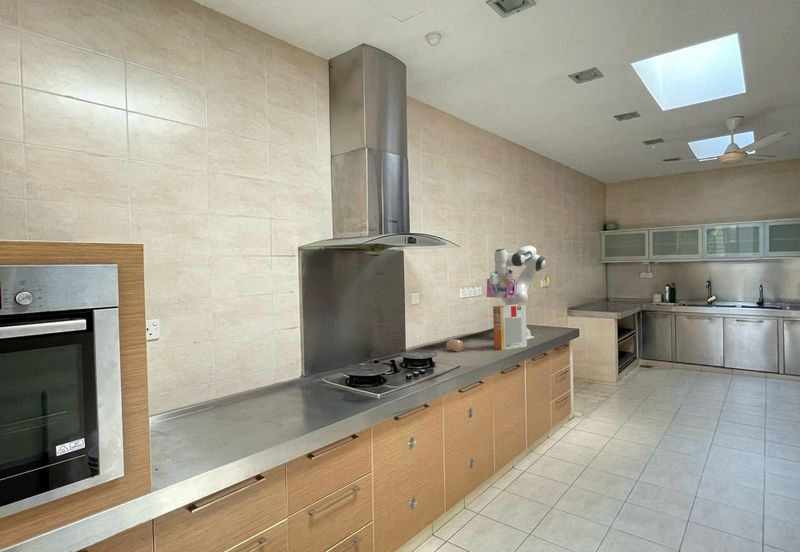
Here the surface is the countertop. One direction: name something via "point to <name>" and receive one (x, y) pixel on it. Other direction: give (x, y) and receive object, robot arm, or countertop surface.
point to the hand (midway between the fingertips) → (501, 290)
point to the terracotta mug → (454, 345)
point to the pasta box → (510, 326)
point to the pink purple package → (502, 289)
